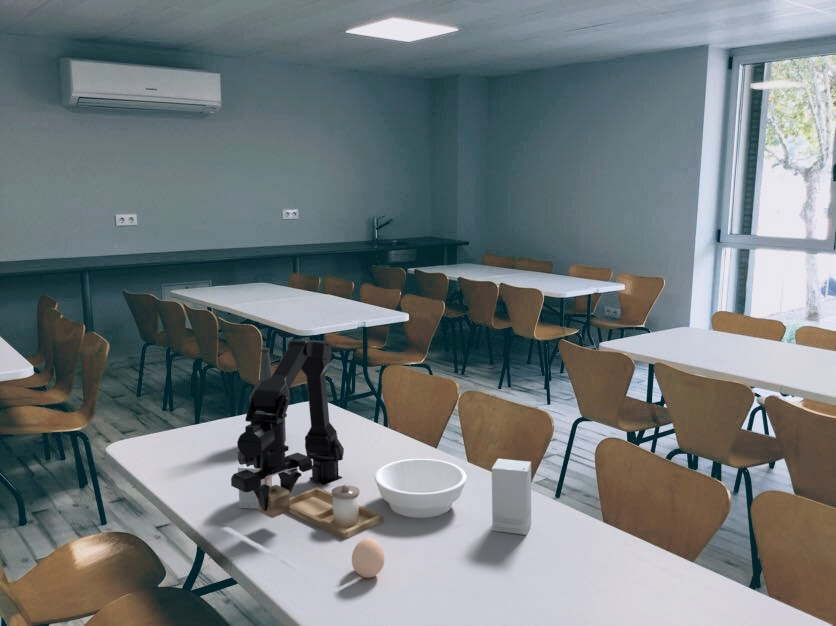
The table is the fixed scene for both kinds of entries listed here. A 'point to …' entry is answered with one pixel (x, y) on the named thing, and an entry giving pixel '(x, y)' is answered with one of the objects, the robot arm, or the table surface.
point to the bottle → (265, 375)
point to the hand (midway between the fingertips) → (274, 506)
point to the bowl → (420, 486)
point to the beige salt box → (277, 502)
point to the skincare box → (511, 496)
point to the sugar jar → (345, 506)
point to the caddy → (329, 513)
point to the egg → (368, 558)
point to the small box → (250, 497)
